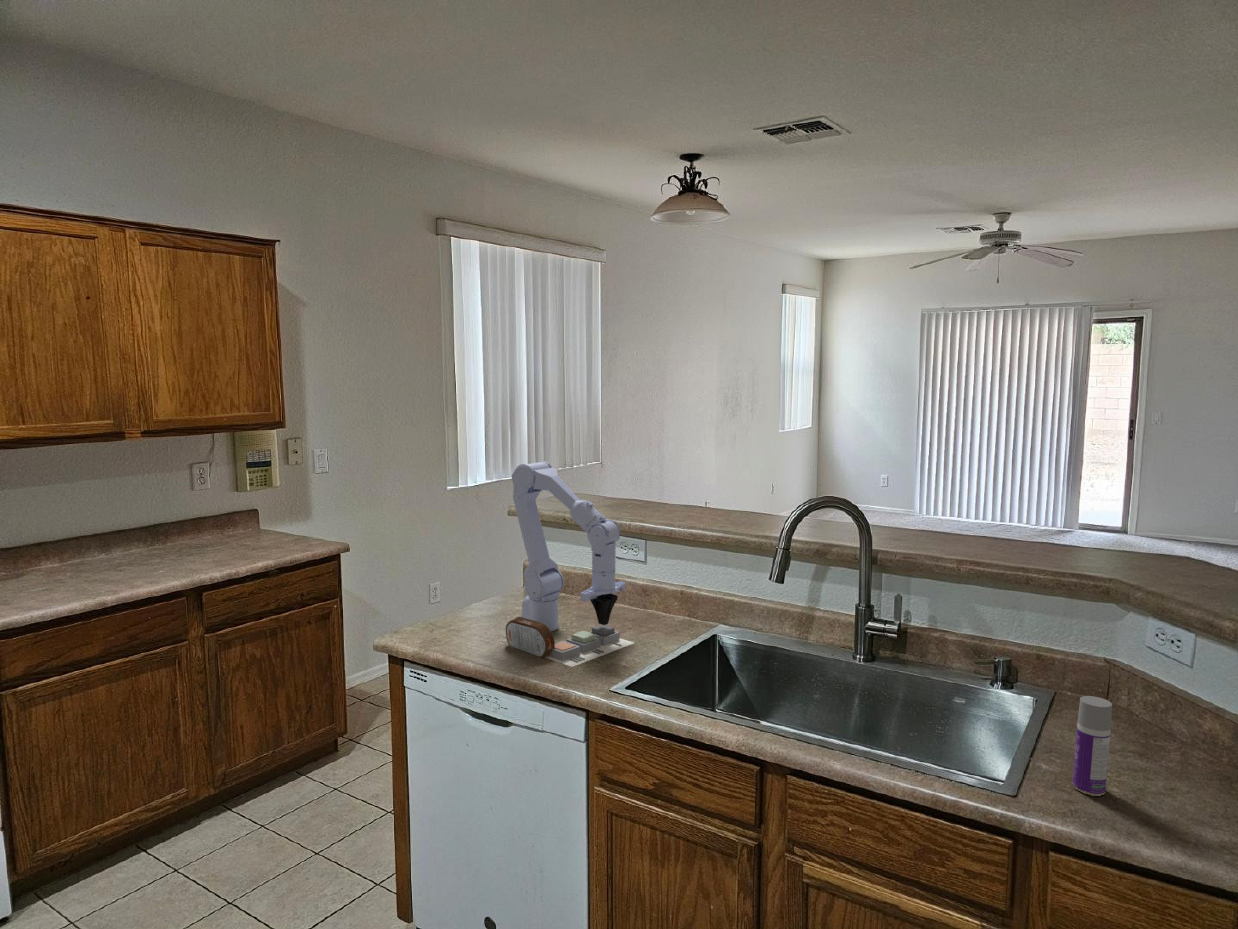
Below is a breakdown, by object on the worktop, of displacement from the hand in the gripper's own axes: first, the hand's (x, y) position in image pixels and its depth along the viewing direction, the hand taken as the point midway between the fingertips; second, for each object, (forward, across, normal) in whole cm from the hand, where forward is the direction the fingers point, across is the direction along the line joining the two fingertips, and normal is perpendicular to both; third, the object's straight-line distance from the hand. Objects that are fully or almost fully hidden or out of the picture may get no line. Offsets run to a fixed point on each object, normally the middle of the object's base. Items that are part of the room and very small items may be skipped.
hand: (603, 623), depth 194 cm
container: (+6, +3, -105) cm, 105 cm away
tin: (+5, -17, +8) cm, 20 cm away
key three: (+4, -14, 0) cm, 15 cm away
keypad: (+5, -7, -1) cm, 9 cm away
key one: (+3, 0, 0) cm, 3 cm away
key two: (+3, -7, 0) cm, 8 cm away
